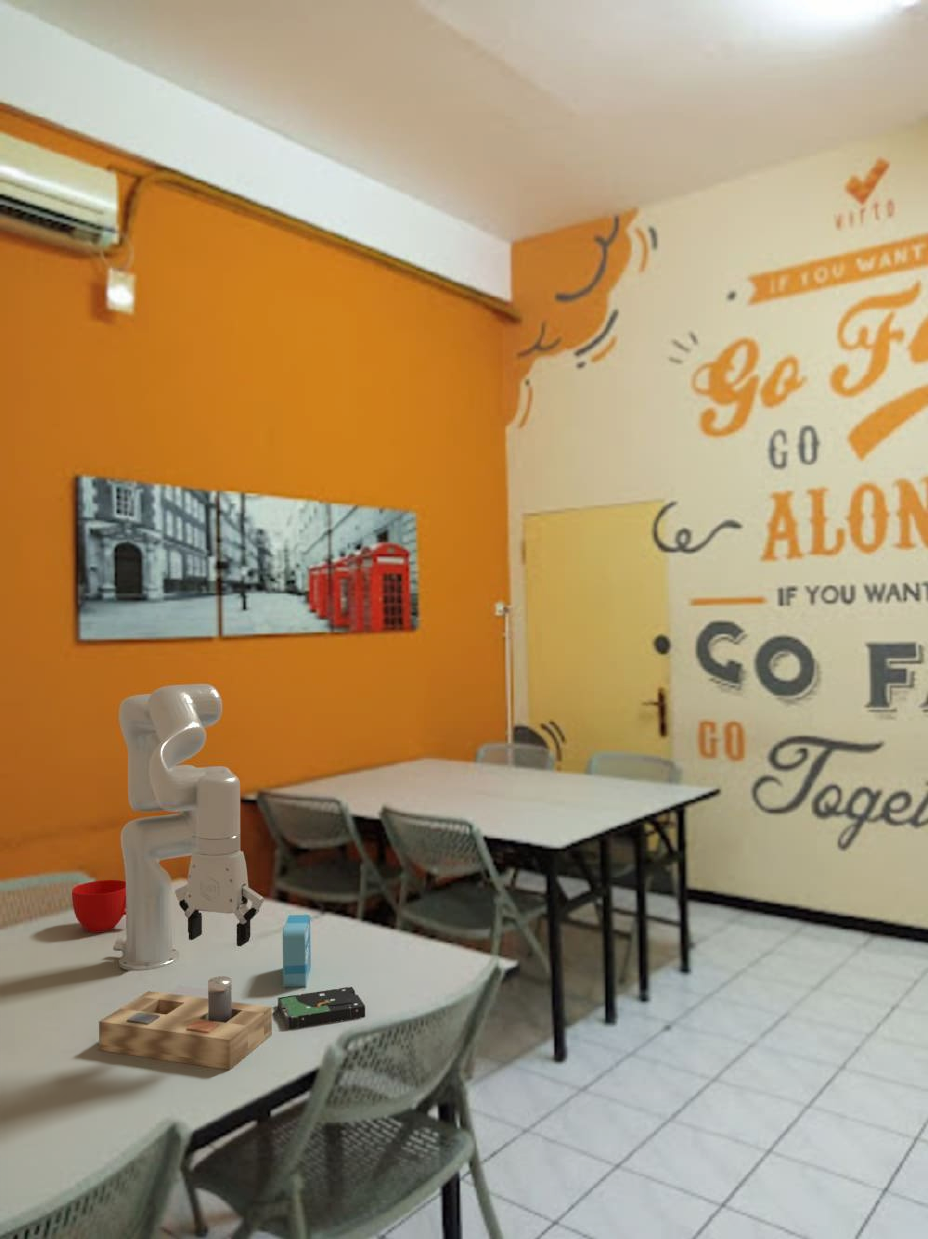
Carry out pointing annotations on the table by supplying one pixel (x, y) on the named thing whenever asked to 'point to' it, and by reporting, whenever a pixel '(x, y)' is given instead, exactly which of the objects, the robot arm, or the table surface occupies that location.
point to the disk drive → (320, 1007)
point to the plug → (219, 999)
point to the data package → (296, 951)
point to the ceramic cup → (99, 904)
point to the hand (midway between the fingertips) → (219, 940)
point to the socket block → (184, 1030)
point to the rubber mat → (190, 991)
